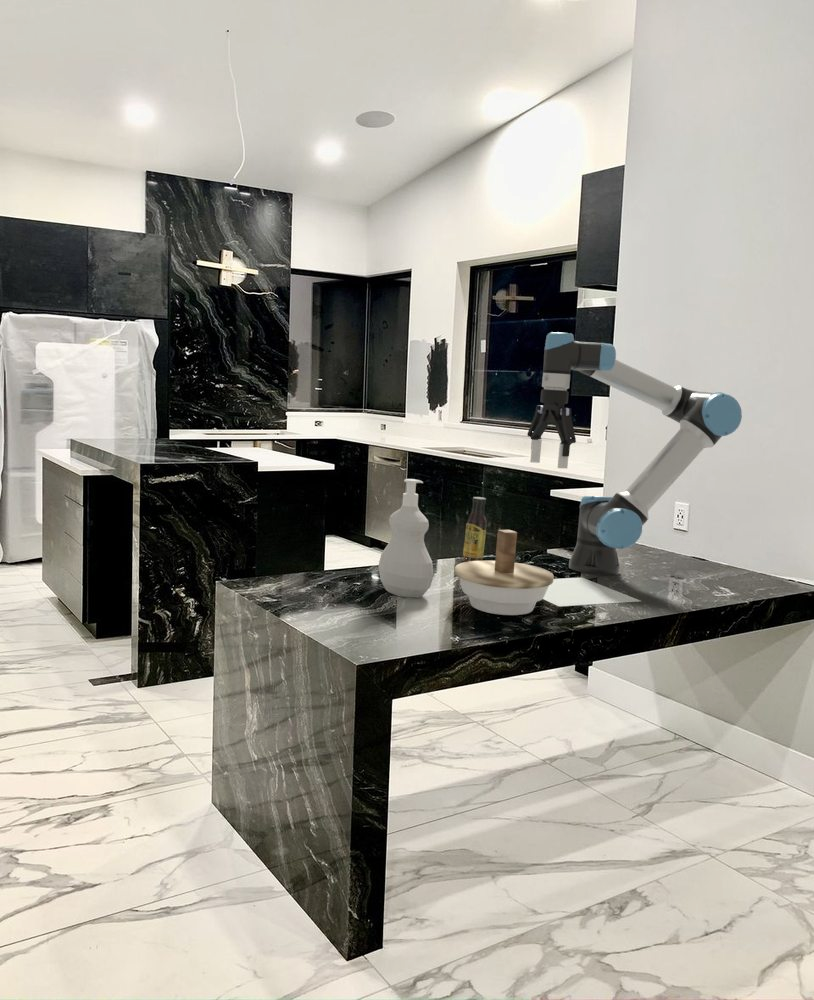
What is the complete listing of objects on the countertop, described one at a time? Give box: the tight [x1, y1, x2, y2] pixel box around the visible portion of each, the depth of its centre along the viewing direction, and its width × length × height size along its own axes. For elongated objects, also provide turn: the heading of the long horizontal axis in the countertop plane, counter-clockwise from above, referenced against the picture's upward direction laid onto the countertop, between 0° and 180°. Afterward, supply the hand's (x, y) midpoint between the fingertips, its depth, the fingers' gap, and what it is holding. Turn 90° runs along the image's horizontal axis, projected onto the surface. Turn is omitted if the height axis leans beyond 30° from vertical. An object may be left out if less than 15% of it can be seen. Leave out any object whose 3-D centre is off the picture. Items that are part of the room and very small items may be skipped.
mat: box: [542, 577, 641, 608], centre depth 232 cm, size 26×26×1 cm
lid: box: [454, 529, 555, 589], centre depth 210 cm, size 24×24×11 cm
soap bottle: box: [378, 478, 435, 598], centre depth 218 cm, size 17×12×29 cm
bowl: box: [458, 577, 549, 616], centre depth 211 cm, size 22×22×8 cm
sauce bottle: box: [462, 496, 488, 562], centre depth 263 cm, size 7×6×20 cm
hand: (548, 465), depth 242 cm, fingers open, 13 cm apart
